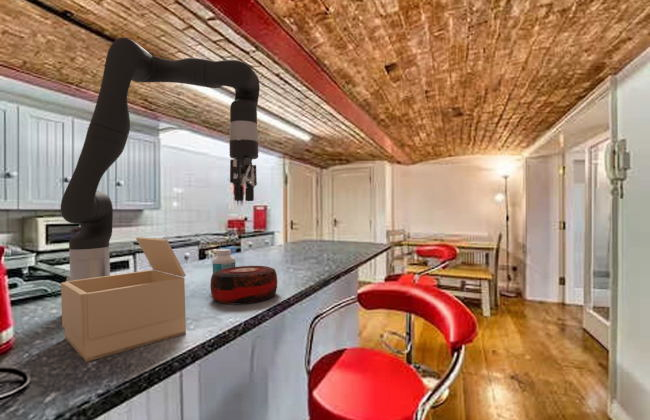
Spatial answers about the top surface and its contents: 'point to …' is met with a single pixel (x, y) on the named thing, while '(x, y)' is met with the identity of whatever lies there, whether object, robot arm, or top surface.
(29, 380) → the top surface
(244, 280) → the wheel
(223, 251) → the pill bottle
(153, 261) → the carton flap
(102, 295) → the carton
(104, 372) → the top surface
